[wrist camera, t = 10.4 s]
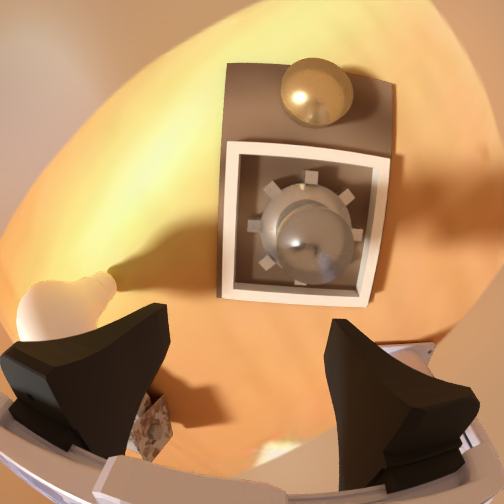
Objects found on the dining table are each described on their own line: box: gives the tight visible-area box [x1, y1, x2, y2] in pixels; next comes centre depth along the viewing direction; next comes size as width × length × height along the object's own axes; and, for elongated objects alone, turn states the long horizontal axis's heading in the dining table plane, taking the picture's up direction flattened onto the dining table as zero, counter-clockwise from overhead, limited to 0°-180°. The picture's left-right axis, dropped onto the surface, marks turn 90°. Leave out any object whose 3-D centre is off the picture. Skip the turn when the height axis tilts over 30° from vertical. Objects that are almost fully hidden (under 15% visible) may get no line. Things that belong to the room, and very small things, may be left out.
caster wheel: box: [127, 393, 173, 462], centre depth 24 cm, size 7×11×10 cm
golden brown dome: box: [280, 58, 353, 129], centre depth 15 cm, size 4×4×2 cm
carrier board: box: [217, 63, 393, 307], centre depth 18 cm, size 18×12×1 cm
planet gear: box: [247, 170, 363, 285], centre depth 16 cm, size 8×8×6 cm
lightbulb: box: [16, 271, 117, 341], centre depth 17 cm, size 6×6×11 cm
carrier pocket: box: [222, 141, 390, 307], centre depth 18 cm, size 11×11×1 cm
